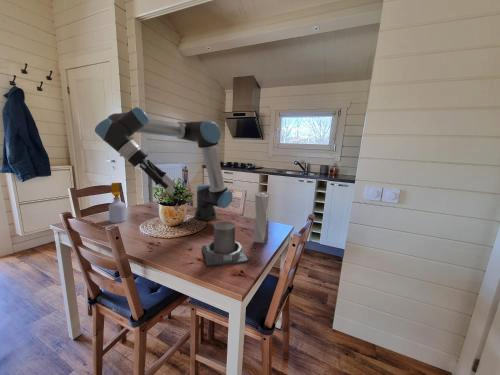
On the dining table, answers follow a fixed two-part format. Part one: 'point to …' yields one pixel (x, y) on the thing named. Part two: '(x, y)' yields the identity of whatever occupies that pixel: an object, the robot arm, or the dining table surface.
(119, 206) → the soap bottle
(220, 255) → the duct collar
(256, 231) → the skyscraper
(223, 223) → the pillar candle
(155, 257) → the dining table surface
